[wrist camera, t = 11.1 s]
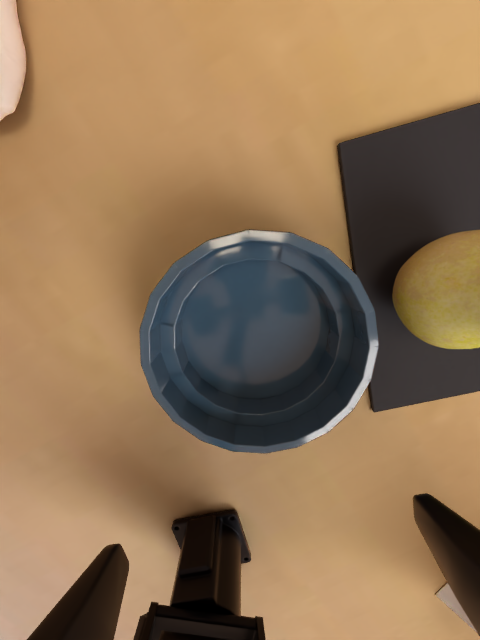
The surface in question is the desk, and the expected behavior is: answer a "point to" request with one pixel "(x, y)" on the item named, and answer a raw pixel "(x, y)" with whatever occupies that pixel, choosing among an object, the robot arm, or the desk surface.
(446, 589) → the award
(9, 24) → the skull planter
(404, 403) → the place mat
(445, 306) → the fruit
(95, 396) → the desk surface
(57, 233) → the desk surface
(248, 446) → the bowl
